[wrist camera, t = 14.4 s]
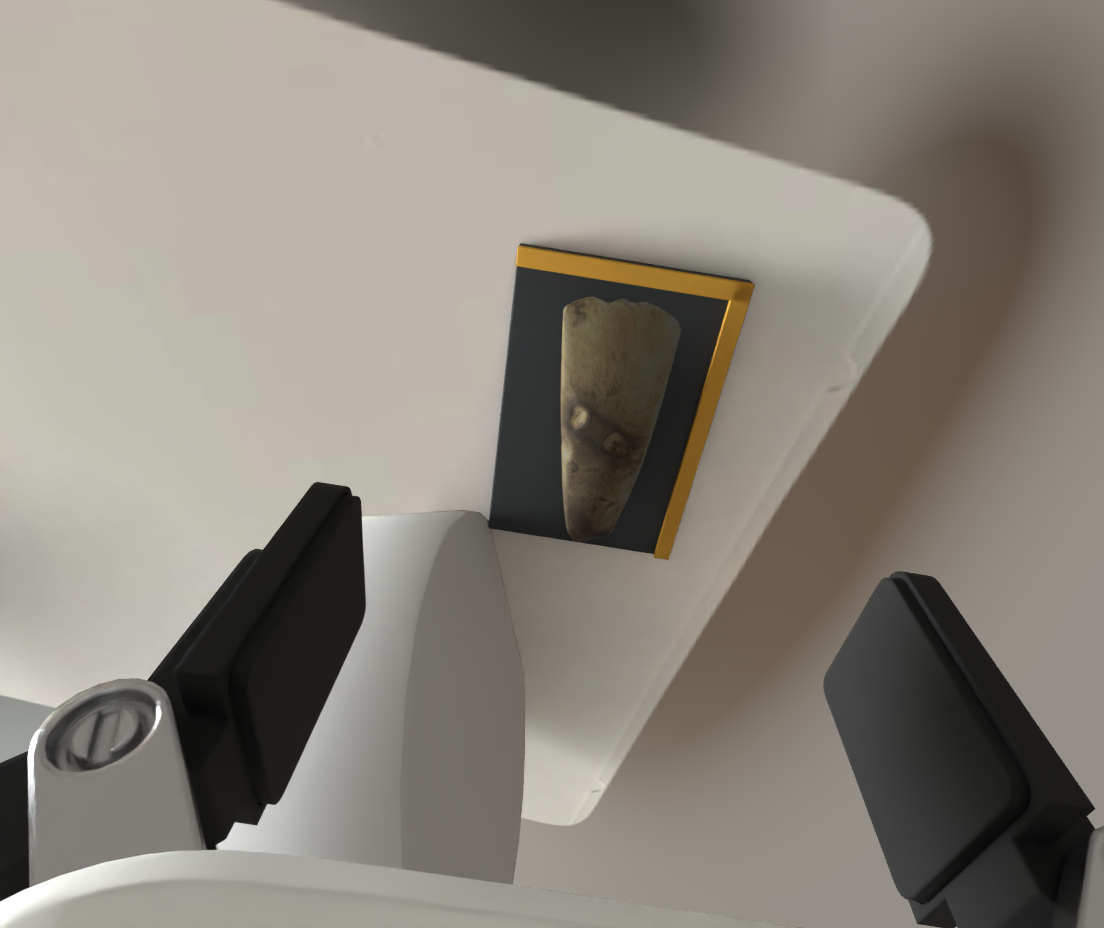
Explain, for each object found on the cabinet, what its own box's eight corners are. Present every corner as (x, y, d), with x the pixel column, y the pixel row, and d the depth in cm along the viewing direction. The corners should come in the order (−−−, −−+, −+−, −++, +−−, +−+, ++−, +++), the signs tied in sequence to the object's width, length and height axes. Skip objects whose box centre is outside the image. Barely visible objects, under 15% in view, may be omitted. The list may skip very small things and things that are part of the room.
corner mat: (520, 242, 25) (517, 246, 24) (751, 280, 25) (755, 284, 25) (489, 523, 33) (487, 531, 32) (666, 550, 33) (668, 560, 32)
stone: (565, 283, 25) (562, 298, 23) (682, 290, 25) (688, 305, 23) (554, 525, 32) (550, 552, 30) (645, 533, 32) (648, 560, 30)
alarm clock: (338, 465, 32) (31, 874, 15) (473, 454, 31) (314, 878, 14) (430, 720, 42) (315, 1131, 25) (533, 718, 41) (486, 1143, 24)
